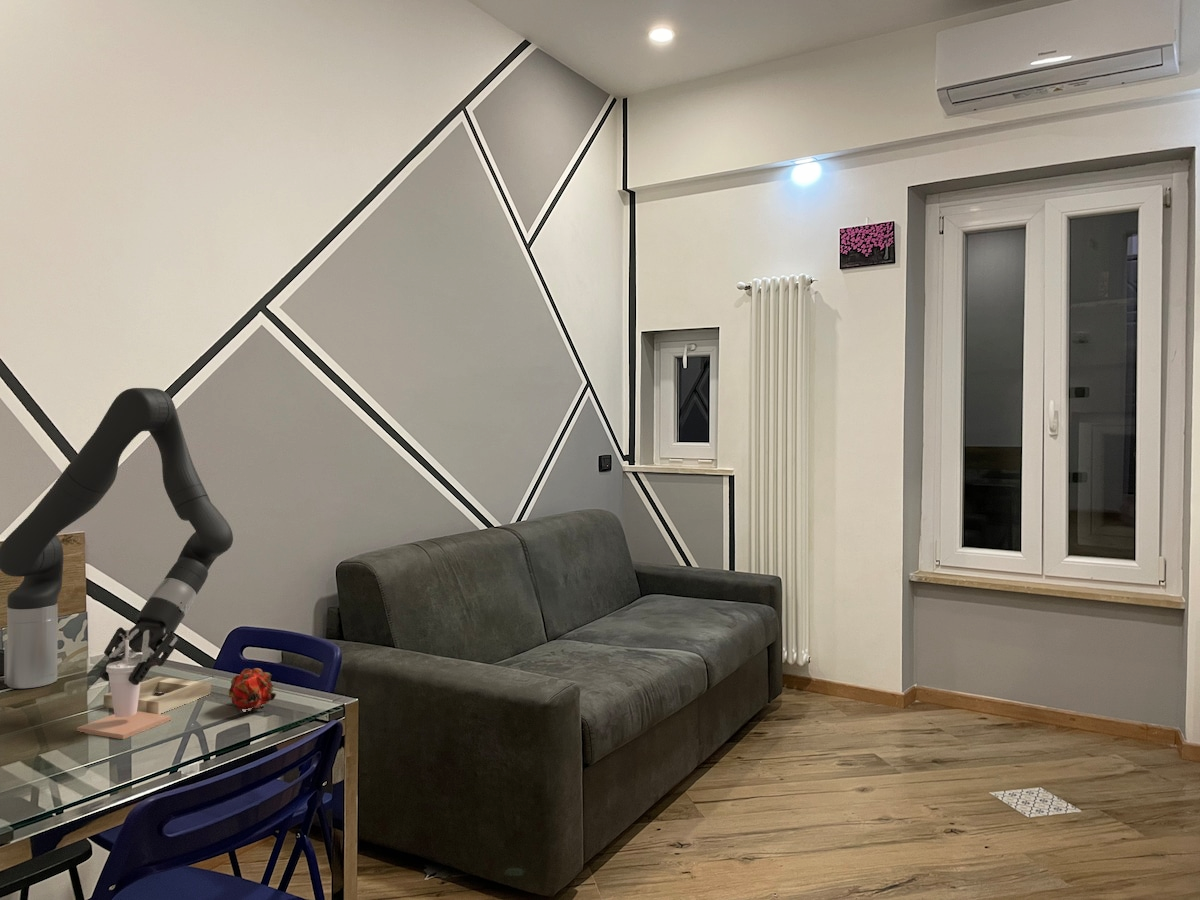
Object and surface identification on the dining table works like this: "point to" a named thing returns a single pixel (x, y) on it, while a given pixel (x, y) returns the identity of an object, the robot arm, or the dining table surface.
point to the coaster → (124, 725)
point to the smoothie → (123, 685)
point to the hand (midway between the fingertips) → (118, 680)
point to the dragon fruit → (251, 689)
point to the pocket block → (175, 697)
